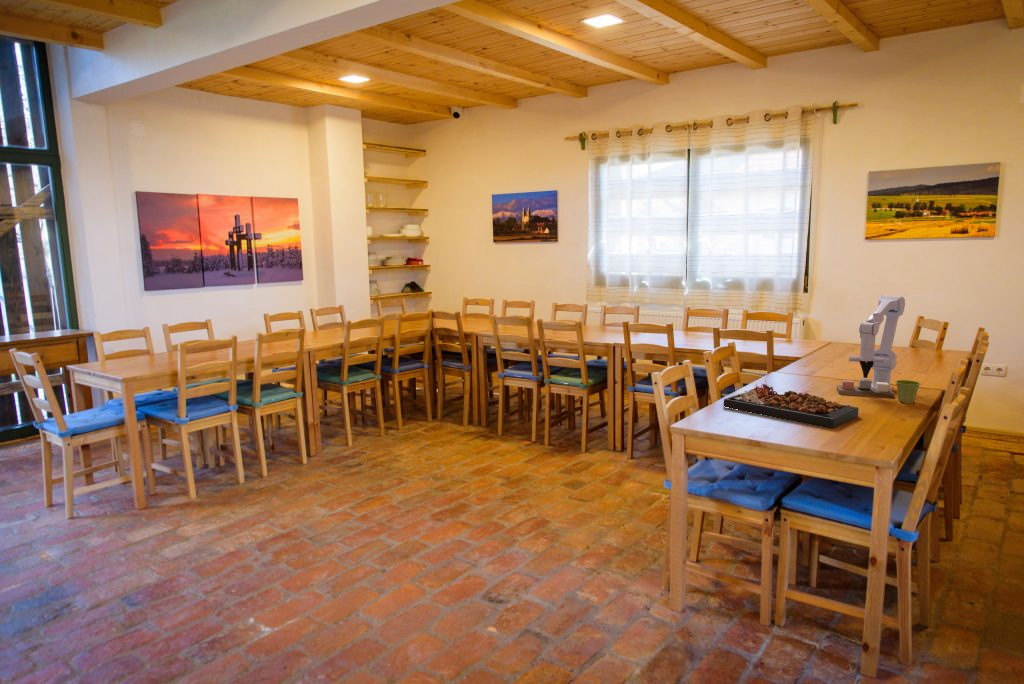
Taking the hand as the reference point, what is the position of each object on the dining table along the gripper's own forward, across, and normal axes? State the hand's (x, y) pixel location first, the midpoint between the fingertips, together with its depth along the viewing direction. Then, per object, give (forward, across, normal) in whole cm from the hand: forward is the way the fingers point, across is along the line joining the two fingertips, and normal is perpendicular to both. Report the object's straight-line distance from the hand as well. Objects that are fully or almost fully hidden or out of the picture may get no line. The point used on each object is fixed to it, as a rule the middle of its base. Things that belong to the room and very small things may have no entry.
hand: (865, 377), depth 293 cm
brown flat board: (+8, 0, 0) cm, 8 cm away
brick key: (+6, -7, 0) cm, 9 cm away
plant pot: (+8, +15, -11) cm, 20 cm away
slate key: (+5, 0, 0) cm, 5 cm away
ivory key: (+6, +7, 0) cm, 9 cm away
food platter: (+9, -33, -47) cm, 58 cm away
